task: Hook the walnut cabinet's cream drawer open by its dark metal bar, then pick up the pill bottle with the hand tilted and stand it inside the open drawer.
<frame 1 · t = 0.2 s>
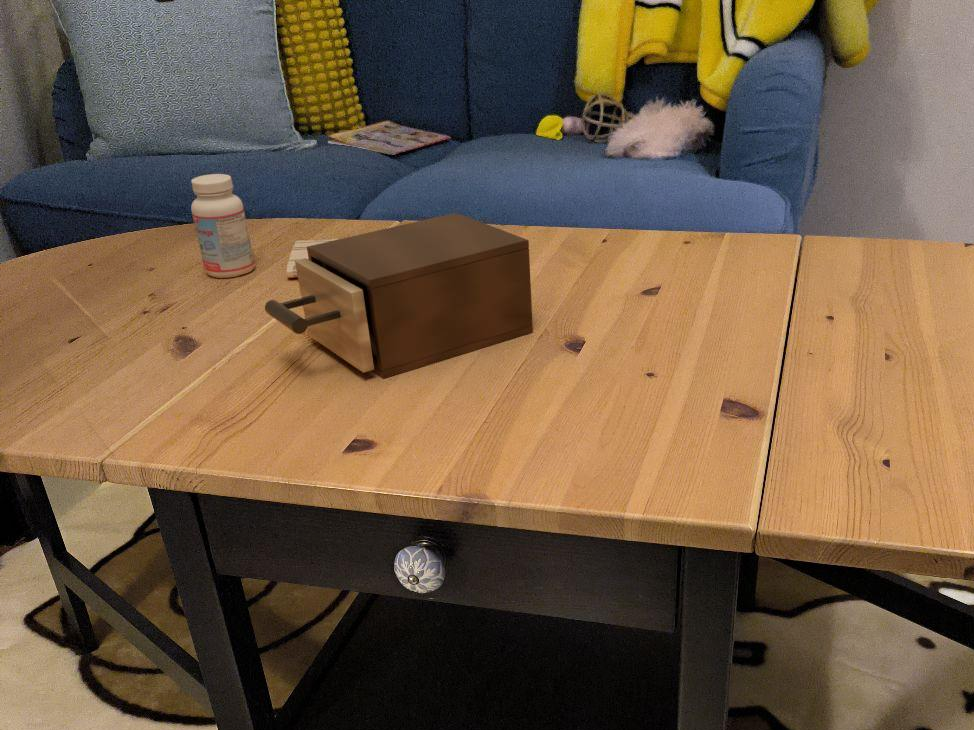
newspaper: (378, 261, 123), on the table
pill bottle: (231, 272, 121), on the table
cabinet: (427, 335, 101), on the table
drawer: (381, 301, 96), point 5 cm above the table, slide at 0.5 cm
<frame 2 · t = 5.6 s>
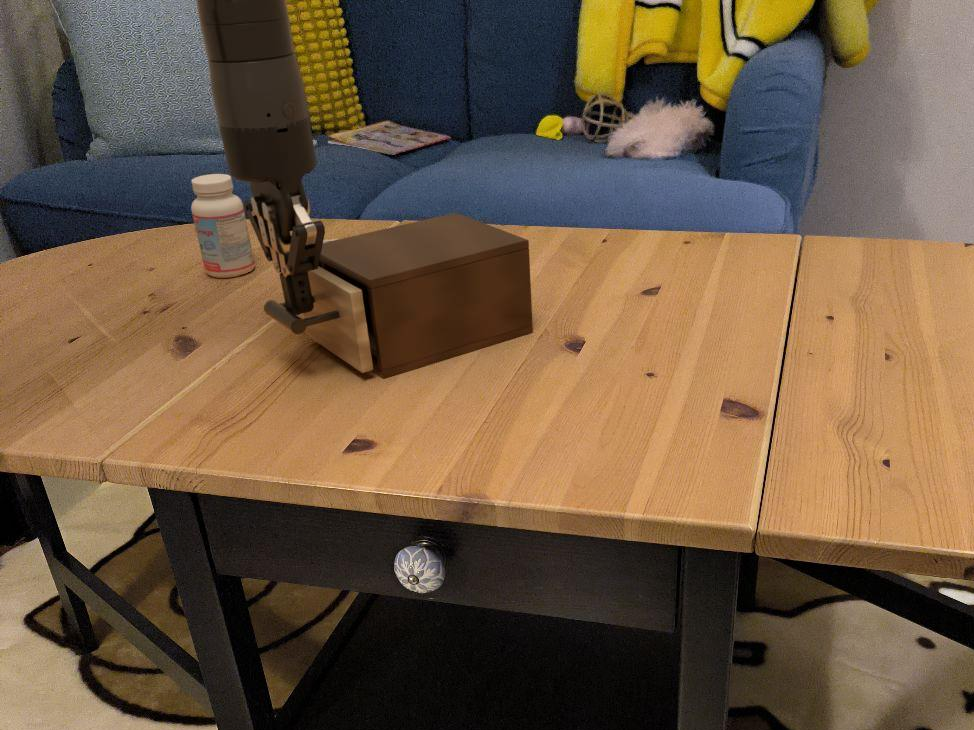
hand: (300, 310, 91), 6 cm above the table, tool pointing down, fingers closed
drawer: (380, 301, 96), point 5 cm above the table, slide at 0.6 cm, touching gripper
everything else where it was.
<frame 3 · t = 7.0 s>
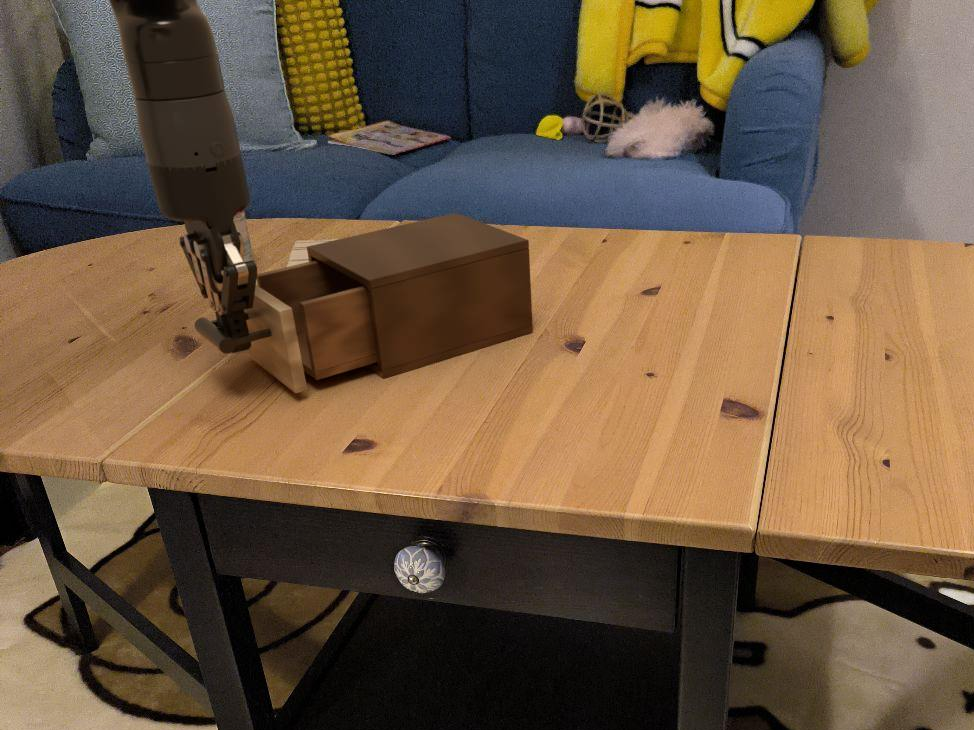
hand: (238, 348, 89), 4 cm above the table, tool pointing down, fingers closed
drawer: (317, 318, 93), point 5 cm above the table, slide at 7.4 cm, touching gripper
everything else where it was.
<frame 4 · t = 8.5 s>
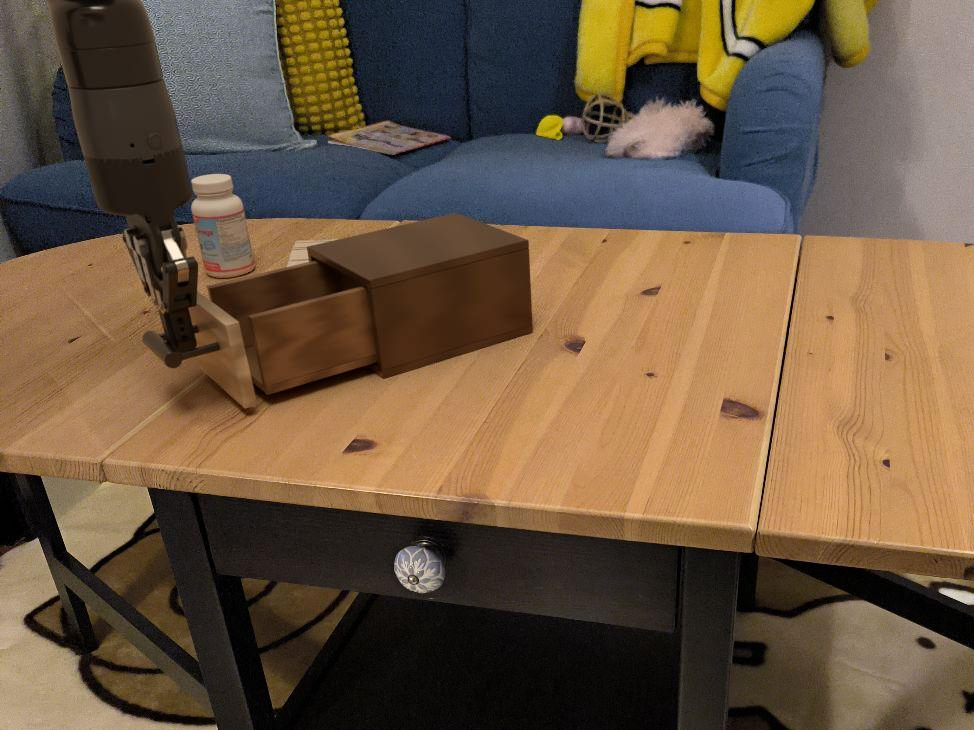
hand: (183, 348, 86), 5 cm above the table, tool pointing down, fingers closed
drawer: (269, 331, 90), point 5 cm above the table, slide at 12.3 cm, touching gripper
everything else where it was.
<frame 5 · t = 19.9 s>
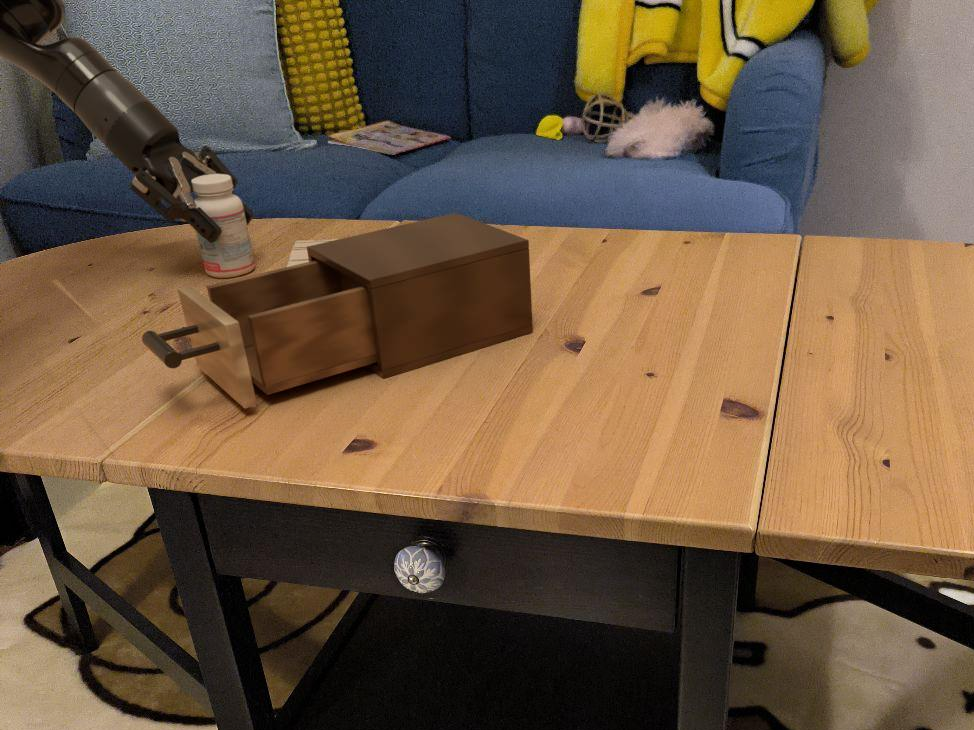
hand: (233, 229, 118), 5 cm above the table, tool tilted 45°, fingers closed on pill bottle, 6 cm apart
pill bottle: (231, 272, 121), on the table, touching gripper
drawer: (269, 331, 90), point 5 cm above the table, slide at 12.3 cm
everything else where it was.
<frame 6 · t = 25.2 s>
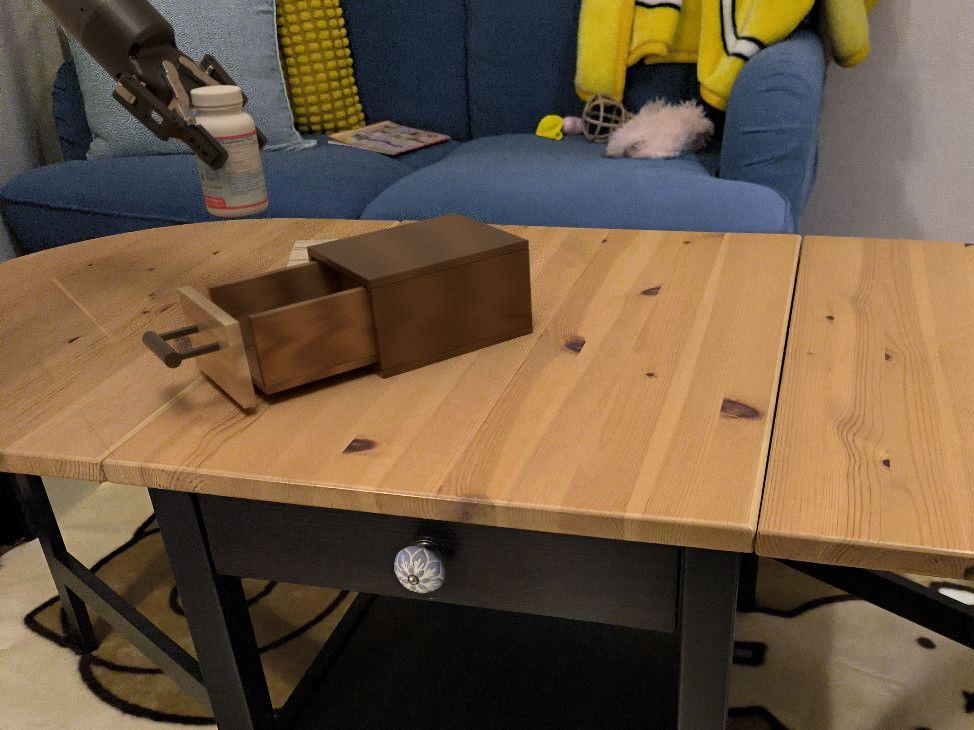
hand: (242, 155, 94), 18 cm above the table, tool tilted 45°, fingers closed on pill bottle, 6 cm apart
pill bottle: (239, 212, 97), point 12 cm above the table, touching gripper
everything else where it was.
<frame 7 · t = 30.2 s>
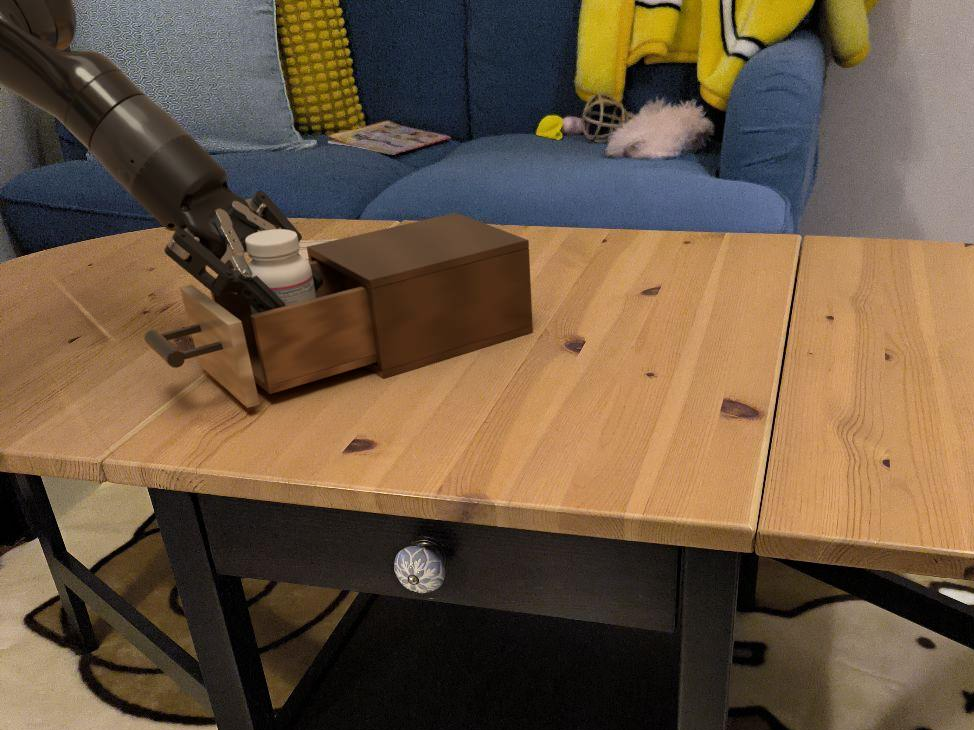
hand: (298, 301, 90), 7 cm above the table, tool tilted 45°, fingers closed on pill bottle, 6 cm apart
pill bottle: (294, 355, 93), point 2 cm above the table, touching drawer, gripper
drawer: (272, 330, 91), point 5 cm above the table, slide at 12.0 cm, touching pill bottle
everything else where it was.
when the fingers open (7 cm above the table, at t = 30.5 s): pill bottle stays where it is, resting on drawer.
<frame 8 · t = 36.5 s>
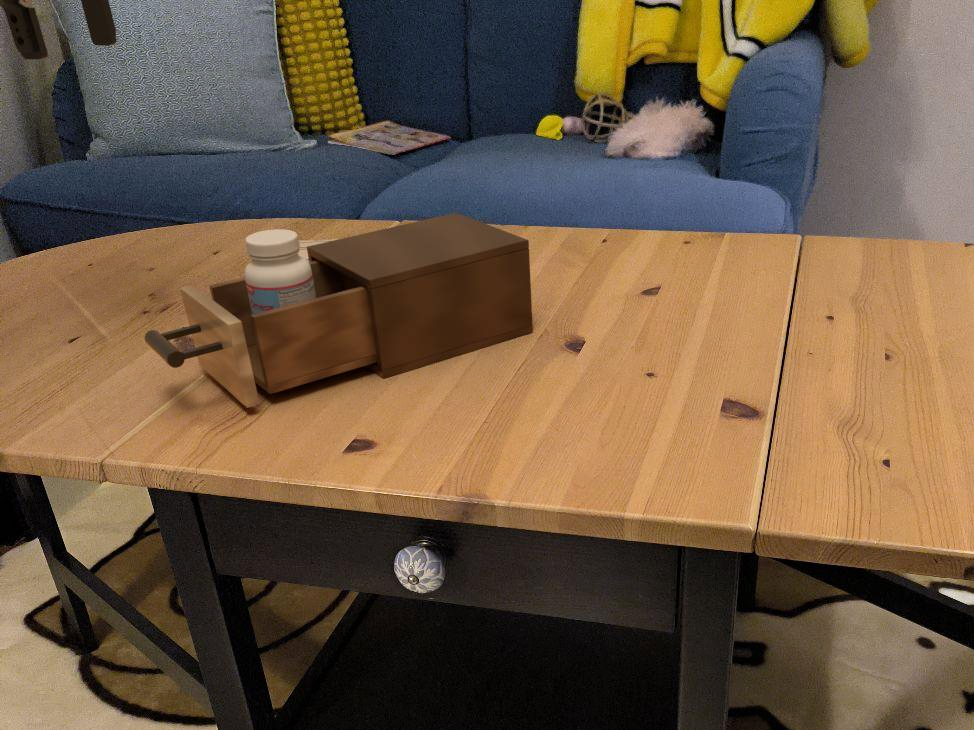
hand: (72, 51, 84), 28 cm above the table, tool pointing down, fingers open, 8 cm apart
pill bottle: (294, 355, 93), point 2 cm above the table, touching drawer
everything else where it was.
at the end: drawer slide at 12.0 cm; pill bottle inside the target area in the drawer (1.6 cm from its centre), point 1.8 cm above the cabinet's base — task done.
